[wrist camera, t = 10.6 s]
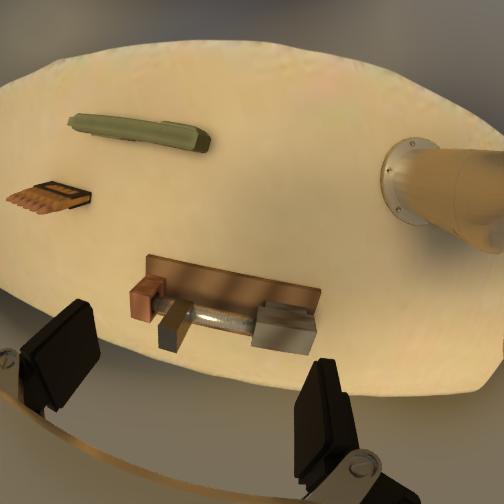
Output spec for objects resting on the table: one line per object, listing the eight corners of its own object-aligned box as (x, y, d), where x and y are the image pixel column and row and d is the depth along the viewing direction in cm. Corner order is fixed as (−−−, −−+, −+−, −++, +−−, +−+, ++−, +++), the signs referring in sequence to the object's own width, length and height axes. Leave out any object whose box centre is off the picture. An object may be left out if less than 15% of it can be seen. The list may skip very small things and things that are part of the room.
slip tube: (279, 314, 37) (278, 352, 29) (273, 334, 38) (271, 373, 30) (146, 285, 38) (119, 313, 30) (146, 305, 39) (122, 336, 31)
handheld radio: (206, 157, 35) (72, 132, 34) (213, 134, 34) (77, 113, 33) (192, 154, 28) (46, 130, 28) (200, 126, 27) (51, 109, 27)
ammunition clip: (91, 192, 38) (40, 207, 26) (90, 203, 38) (40, 221, 27) (51, 181, 37) (3, 193, 26) (50, 190, 38) (3, 204, 27)
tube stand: (320, 289, 39) (327, 315, 32) (302, 341, 43) (305, 371, 36) (148, 254, 40) (126, 272, 33) (148, 308, 43) (130, 331, 37)
